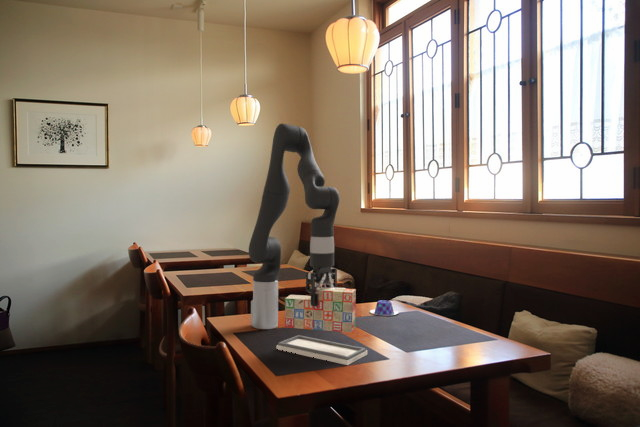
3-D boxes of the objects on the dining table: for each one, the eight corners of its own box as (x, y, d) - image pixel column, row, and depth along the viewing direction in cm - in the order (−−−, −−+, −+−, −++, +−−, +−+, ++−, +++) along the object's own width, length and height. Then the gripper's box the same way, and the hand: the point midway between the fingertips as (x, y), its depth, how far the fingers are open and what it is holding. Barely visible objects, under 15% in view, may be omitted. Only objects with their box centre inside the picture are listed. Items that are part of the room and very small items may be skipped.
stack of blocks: (284, 328, 153) (284, 288, 152) (290, 323, 159) (290, 285, 158) (352, 332, 148) (352, 291, 147) (355, 327, 154) (356, 288, 154)
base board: (276, 349, 156) (276, 342, 156) (299, 340, 166) (299, 334, 165) (347, 365, 141) (347, 358, 141) (367, 354, 151) (367, 347, 151)
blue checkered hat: (364, 313, 207) (364, 301, 206) (380, 309, 215) (380, 297, 215) (387, 318, 198) (388, 305, 198) (404, 313, 207) (404, 301, 207)
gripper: (319, 253, 145) (319, 309, 145) (344, 249, 156) (344, 301, 157) (298, 252, 149) (298, 306, 149) (324, 248, 161) (324, 298, 161)
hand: (321, 303), depth 153 cm, fingers closed on stack of blocks, 7 cm apart
